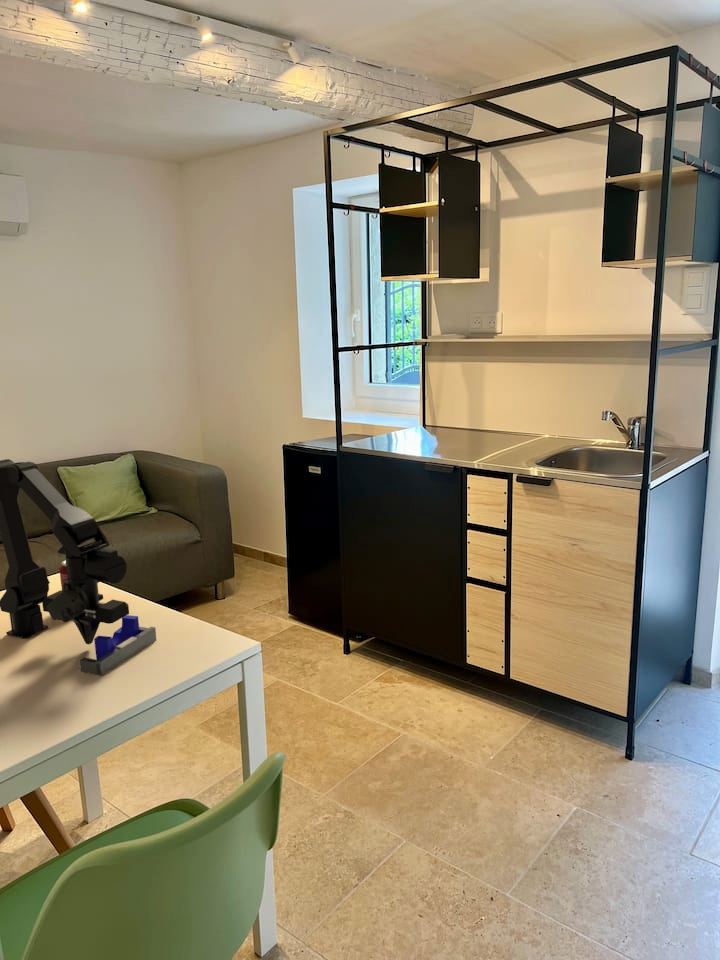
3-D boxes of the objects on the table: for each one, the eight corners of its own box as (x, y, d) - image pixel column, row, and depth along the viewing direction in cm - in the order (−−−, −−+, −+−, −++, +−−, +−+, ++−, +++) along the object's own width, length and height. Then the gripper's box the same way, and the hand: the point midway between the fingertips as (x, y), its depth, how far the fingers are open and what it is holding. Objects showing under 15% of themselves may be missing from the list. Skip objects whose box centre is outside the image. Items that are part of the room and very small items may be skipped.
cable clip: (122, 639, 162) (119, 614, 160) (140, 641, 161) (138, 616, 159) (90, 665, 150) (87, 638, 149) (110, 667, 149) (107, 640, 148)
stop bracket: (80, 671, 147) (78, 656, 147) (136, 636, 163) (135, 622, 162) (101, 675, 145) (100, 660, 144) (156, 640, 161) (155, 626, 160)
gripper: (18, 582, 149) (26, 652, 153) (89, 595, 142) (97, 668, 146) (58, 564, 159) (66, 630, 163) (127, 575, 153) (133, 644, 156)
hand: (89, 643), depth 157 cm, fingers closed
